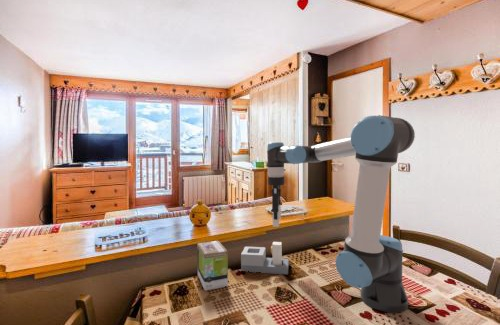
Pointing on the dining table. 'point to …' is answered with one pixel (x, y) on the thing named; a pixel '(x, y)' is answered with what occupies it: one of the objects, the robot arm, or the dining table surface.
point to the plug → (276, 253)
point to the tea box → (212, 265)
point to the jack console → (261, 262)
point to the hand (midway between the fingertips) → (277, 222)
